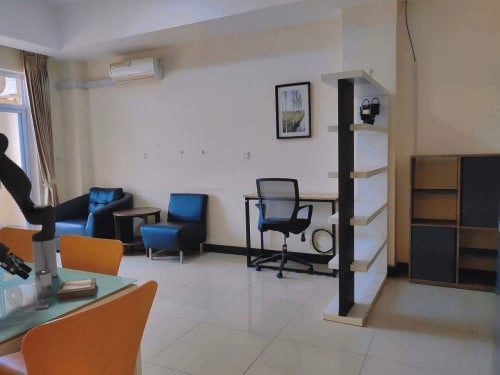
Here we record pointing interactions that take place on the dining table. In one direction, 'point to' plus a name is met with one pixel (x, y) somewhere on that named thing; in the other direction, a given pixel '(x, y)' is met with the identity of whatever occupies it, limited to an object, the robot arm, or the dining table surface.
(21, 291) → the dining table surface
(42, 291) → the housing
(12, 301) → the dining table surface
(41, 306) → the bracket plate
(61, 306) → the dining table surface
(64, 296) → the stand
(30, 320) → the dining table surface
